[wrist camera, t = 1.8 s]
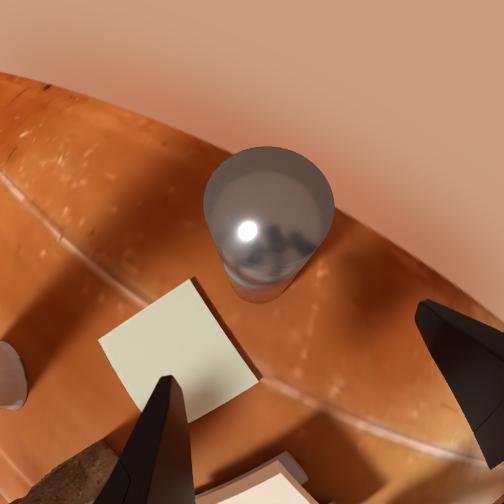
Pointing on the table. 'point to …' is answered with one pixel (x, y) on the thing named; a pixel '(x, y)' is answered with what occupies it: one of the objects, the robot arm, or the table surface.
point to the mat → (178, 353)
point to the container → (11, 378)
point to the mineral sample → (75, 478)
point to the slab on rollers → (264, 485)
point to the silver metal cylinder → (266, 218)
